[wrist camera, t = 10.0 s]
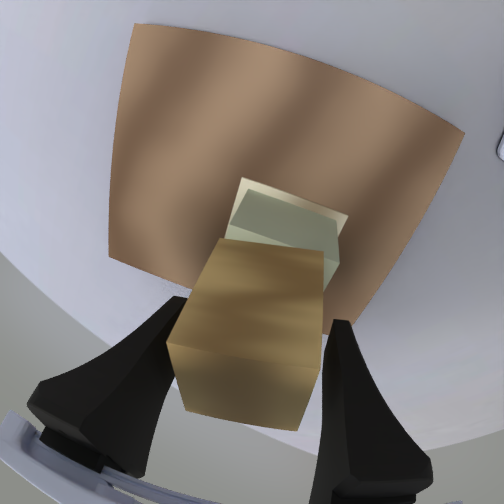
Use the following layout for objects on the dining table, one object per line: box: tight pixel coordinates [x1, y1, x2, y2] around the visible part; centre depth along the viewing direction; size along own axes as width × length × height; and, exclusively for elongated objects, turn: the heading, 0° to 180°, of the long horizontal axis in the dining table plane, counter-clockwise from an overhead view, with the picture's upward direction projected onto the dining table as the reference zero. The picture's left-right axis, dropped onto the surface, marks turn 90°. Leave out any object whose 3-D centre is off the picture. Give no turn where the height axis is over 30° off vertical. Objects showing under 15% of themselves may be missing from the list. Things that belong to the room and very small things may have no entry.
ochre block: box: [166, 238, 324, 431], centre depth 12 cm, size 4×4×6 cm
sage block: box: [225, 189, 340, 292], centre depth 16 cm, size 5×5×4 cm
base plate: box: [109, 23, 465, 335], centre depth 17 cm, size 18×16×1 cm
